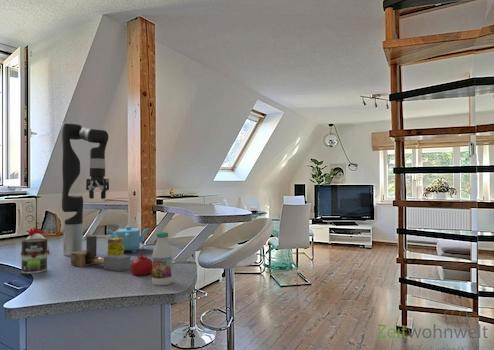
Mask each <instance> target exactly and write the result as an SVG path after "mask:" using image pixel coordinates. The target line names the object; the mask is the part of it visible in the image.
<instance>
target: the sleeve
mask: <svg viewBox="0 0 494 350" xmlns="http://www.w3.org/2000/svg"><path fill="white" fill-rule="evenodd" d="M103 258H104V265H103V270H105V271H106V270H107V271H114V272H124V271H127V270H131V269H130V265H131V263H132V262H131V255H125V254H124V255H116V254H113V255H109V256H108V255H106V256H103Z"/></svg>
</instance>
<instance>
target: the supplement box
mask: <svg viewBox="0 0 494 350" xmlns="http://www.w3.org/2000/svg"><path fill="white" fill-rule="evenodd" d="M124 253H125V251H124V238H113V239H112V238H110V239H107V256H109V255H113V254H116V255H125V254H124Z"/></svg>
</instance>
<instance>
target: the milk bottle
mask: <svg viewBox="0 0 494 350" xmlns="http://www.w3.org/2000/svg"><path fill="white" fill-rule="evenodd" d="M155 234H156V243H155V245H154V248H153V251H152V258H151V261H152V272H151V273H152V274H151V275H152V276H151V278H152V279H151V280H152V281H151V282H152V284H153V286H167V285H171V284H172V283H173V252H172V248H171V246H170V244H169V240H168V239H169V232H166V231H164V232H163V231H162V232H160V231H159V232H157V233H155Z"/></svg>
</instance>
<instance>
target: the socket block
mask: <svg viewBox="0 0 494 350" xmlns="http://www.w3.org/2000/svg"><path fill="white" fill-rule="evenodd" d="M85 256H86V249H82V251H78V252H73V253H71V256H70V266H73V267H74V266H75V267H81V268H82V267H86V266H91V265H95V263H88V262H85Z"/></svg>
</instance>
